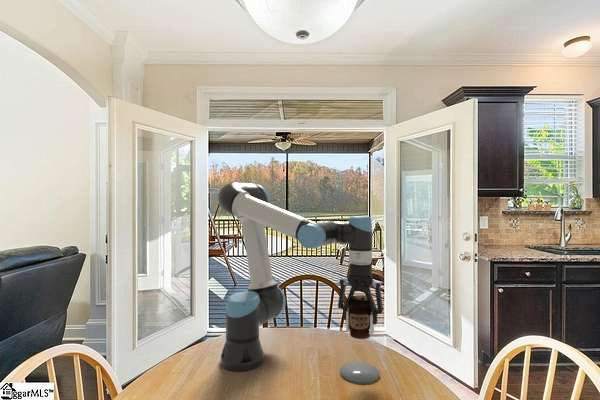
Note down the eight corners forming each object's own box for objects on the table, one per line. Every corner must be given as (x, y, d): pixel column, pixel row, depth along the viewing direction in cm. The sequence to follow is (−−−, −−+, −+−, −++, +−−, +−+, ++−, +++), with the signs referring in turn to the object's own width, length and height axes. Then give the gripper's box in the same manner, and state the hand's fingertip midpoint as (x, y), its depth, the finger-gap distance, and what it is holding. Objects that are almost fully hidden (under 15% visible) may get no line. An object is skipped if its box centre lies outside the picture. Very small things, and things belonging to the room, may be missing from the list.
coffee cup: (373, 342, 111) (373, 301, 111) (346, 340, 112) (347, 300, 112) (372, 332, 119) (373, 294, 119) (348, 330, 121) (348, 292, 121)
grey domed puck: (334, 378, 113) (334, 375, 113) (346, 361, 125) (346, 358, 125) (374, 387, 107) (374, 384, 107) (382, 368, 119) (383, 366, 119)
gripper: (327, 262, 116) (327, 330, 117) (389, 267, 108) (389, 341, 108) (334, 258, 123) (334, 323, 123) (393, 263, 115) (393, 332, 115)
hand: (360, 331), depth 116 cm, fingers closed on coffee cup, 7 cm apart
